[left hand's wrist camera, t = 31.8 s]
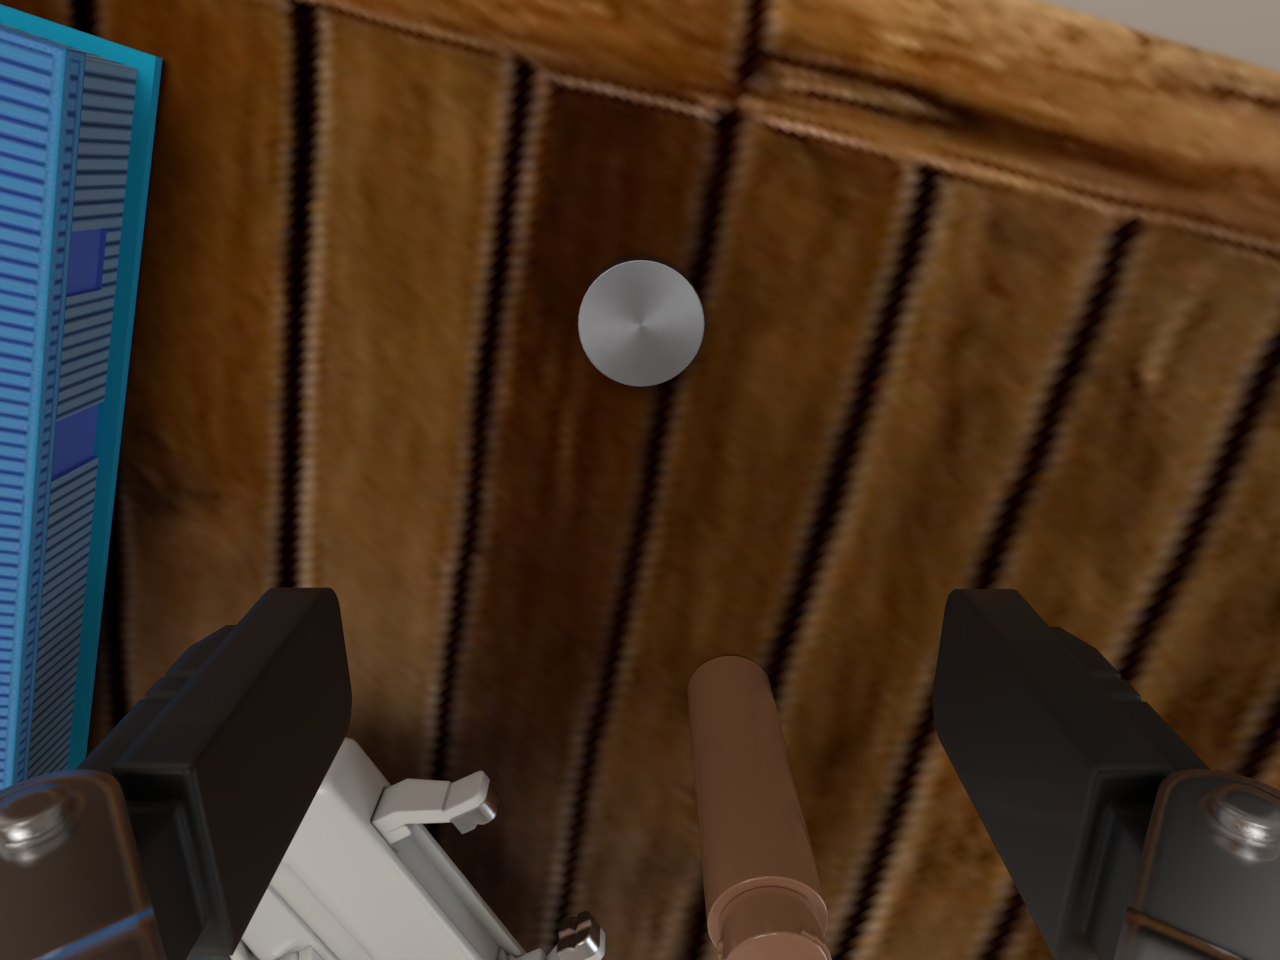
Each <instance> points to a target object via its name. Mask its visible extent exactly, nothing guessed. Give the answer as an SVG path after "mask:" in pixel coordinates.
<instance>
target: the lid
mask: <svg viewBox="0 0 1280 960" xmlns="http://www.w3.org/2000/svg"><path fill="white" fill-rule="evenodd" d="M578 333H579V338H580V342H581V344H582V347H583V349H584V351H585V353H586V355H587V357H588V358H589V360H590V361H591V363H592V364H593V365H594V366H595V367H596V368H597V369H598V370H599V371H600V372H601V373H603V374H604V375H605V376H607V377H608V378H610V379H612V380H614V381H616V382H619V383H622V384H625V385H630V386H639V387H643V386H652V385H657V384H660V383H663V382H666V381H668V380H670V379H672V378H674V377H675V376H677V375H678V374H679V373H681V372H682V371H683V370H684V369H685V368H686V367H687V366H688V365H689V364H690V363H691V361H692V360H693V359H694V357H695V355H696V354H697V352H698V350H699V347H700V345H701V342H702V338H703V334H704V313H703V308H702V305H701V301H700V299H699V297H698V295H697V292H696V290H695V288H694V286H693V284H692V283H691V281H690V280H689V278H688V277H687V276H686V275H685V273H683V272H682V271H681V270H680V269H679V268H678V267H677V266H675V265H674V264H672V263H670V262H668V261H667V260H665V259H662V258H659V257H655V256H651V255H632V256H626V257H623V258H620V259H618V260H616V261H614V262H612V263H610V264H608V265H607V266H605V267H604V268H603V269H602V270H601V271H600V272H598V274H597V275H596V276H595V277H594V278H593V280H592V281H591V283H590V284H589V286H588V288H587V290H586V292H585V295H584V297H583V299H582V302H581V305H580V309H579V314H578Z"/></svg>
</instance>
